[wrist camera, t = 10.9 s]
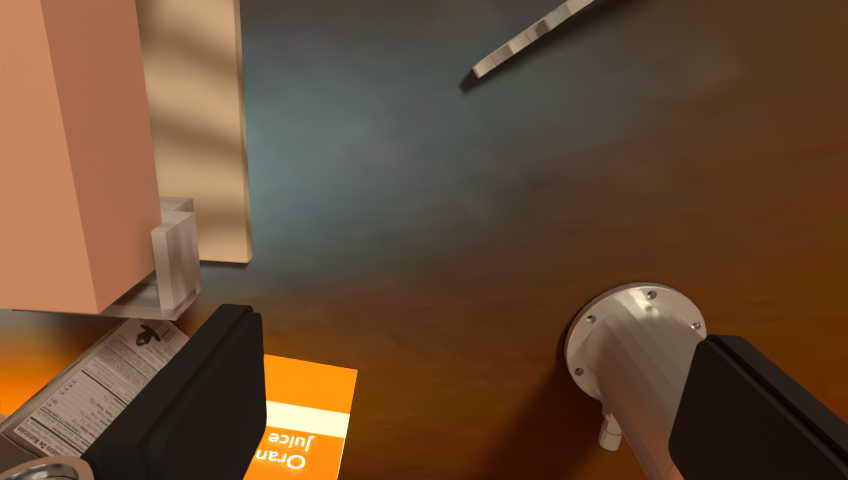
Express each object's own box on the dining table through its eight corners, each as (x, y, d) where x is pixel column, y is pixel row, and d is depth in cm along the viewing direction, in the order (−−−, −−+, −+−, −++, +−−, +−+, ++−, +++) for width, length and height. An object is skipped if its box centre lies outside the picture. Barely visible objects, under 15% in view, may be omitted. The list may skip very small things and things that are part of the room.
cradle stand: (252, 257, 40) (188, 332, 29) (120, 248, 40) (3, 321, 28) (228, -222, 29) (108, -402, 18) (43, -242, 28) (-199, -441, 17)
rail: (166, 260, 30) (98, 314, 24) (71, 253, 30) (-25, 306, 24) (106, -239, 22) (-29, -370, 15) (-29, -253, 21) (-226, -393, 15)
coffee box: (136, 397, 45) (-3, 564, 30) (81, 353, 43) (-98, 508, 28) (202, 345, 43) (88, 496, 28) (147, 297, 41) (-7, 430, 26)
